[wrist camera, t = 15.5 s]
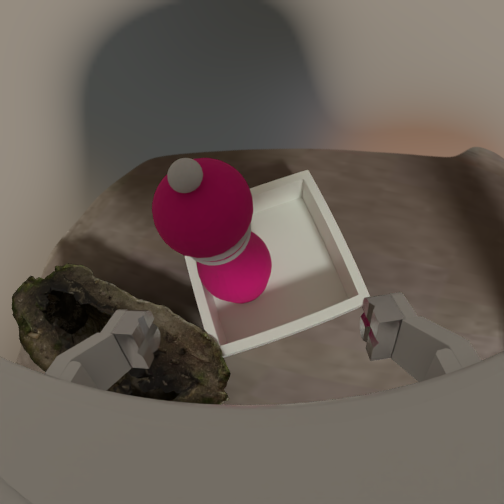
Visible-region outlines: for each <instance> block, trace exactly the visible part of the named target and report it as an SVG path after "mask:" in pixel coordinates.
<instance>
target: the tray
mask: <svg viewBox="0 0 504 504" xmlns="http://www.w3.org/2000/svg"><path fill="white" fill-rule="evenodd" d="M250 191H251V194H252V199H253V215H252V220H251V223H250V224H251V231H252V232H253V233H255V234H256V235H258V236H259V237H260V238H261V239H262V240H263V242H264V243H265V244H266V246H267V248H268V250H269V253H270V256H271V261H272V269H271V274H270V278H269V280H268V283H267V286H266V288H265V290H264V291H263V293H262V294H261V295H260V296H259V297H258V298H256V299H255V300H253V301H251V302H248V303H242V304H240V303H233V302H228V301H224V300H221V299H219V298H216V297H215V296H213V295H212V294H211V293H210V292H209V291H208V290H207V289H206V288H205V286H204V285H203V284H202V282H201V280H200V278H199V275H198V271H197V261H195V260H194V259H193V258H191V257H189V256H185V260H186V264H187V268H188V272H189V276H190V280H191V283H192V287H193V291H194V294H195V298H196V302H197V305H198V309H199V312H200V316H201V319H202V323H203V326H204V329H205V331H206V332H207V334H208V335H209V336H210V337H212V338H213V339H214V340H215V342H216V343H217V344H218V345H219V346H220V348H221V351H222V356H223V357H227V356H230V355H234V354H237V353H240V352H243V351H246V350H250V349H253V348H256V347H259V346H262V345H265V344H268V343H271V342H273V341H276V340H279V339H282V338H285V337H287V336H290V335H293V334H296V333H298V332H301V331H304V330H306V329H309V328H311V327H314V326H316V325H319V324H321V323H324V322H326V321H329V320H331V319H334V318H336V317H338V316H341V315H343V314H346V313H348V312H350V311H352V310H355V309H357V308H359V307H361V306H362V304H363V300H364V298H365V297H370V296H369V293H368V291H367V288H366V286H365V284H364V281H363V279H362V277H361V274H360V272H359V270H358V268H357V265H356V263H355V261H354V259H353V257H352V254H351V252H350V250H349V248H348V246H347V244H346V242H345V240H344V238H343V235H342V233H341V231H340V229H339V227H338V225H337V223H336V221H335V219H334V217H333V215H332V213H331V211H330V209H329V208H328V206H327V204H326V202H325V200H324V198H323V196H322V194H321V192H320V191H319V189H318V187H317V185H316V183H315V181H314V180H313V178H312V176H311V174H310V172H309V171H308V170H306V171H303V172H299V173H296V174H293V175H290V176H286V177H283V178H280V179H277V180H274V181H271V182H268V183H265V184H262V185H259V186H256V187H253V188H250Z"/></svg>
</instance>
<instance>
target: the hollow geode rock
mask: <svg viewBox="0 0 504 504" xmlns="http://www.w3.org/2000/svg"><path fill="white" fill-rule="evenodd" d="M119 309H125V310H149V311H151V312H152V314H153V317H154V321H153V324H155V325H156V326H157V327H158V329H159V332H160V337H161V338H160V345H159V348H158V350H156V351H155V352H153V355H154V359H153V361H152V363H151V366H150V368H149V369H145V368H133V367H131V369H130V370H129V371H128V372H127V373H126V374H124V375H123V376H122V377H121V378H120V379H119V380H118V381H117V382H115V383H114V384H113V385H112V386H111V387H110V388H109V389H108V390H106V391H110V392H115V393H120V394H125V395H131V396H137V397H143V398H150V399H157V400H165V401H174V402H185V403H198V404H216V405H221V404H222V403H223V402H224V401H227V400H229V397H228V395H227V394H226V392H225V391H224V388H225V387H226V385H227V382H228V380H229V377H230V371H229V369H228V367H227V365H226V363H225V360H224V358H223V356H222V351H221V348H220V346H219V345H218V344H217V343H216V342H215V340H214V339H213V338H212V337H210V336H209V335H208V334H207V332H206V331H204V330H202V329H201V328H199V327H198V326H196V325H194V324H192V323H189V322H187V321H185V320H184V319H183V318H181V317H180V316H179V315H177V314H174V313H173V312H172V311H171V310H170V309H169V308H168V307H166V306H164V305H156V304H154V303H151V302H148V301H145V300H140V299H137V298H135V297H134V296H132V295H130V294H129V293H128V292H126V291H123V290H121V289H119V288H118V287H117V286H116V285H114V284H111V283H109V282H107V281H102V280H101V279H99V278H95V277H94V276H93V272H92V270H91V269H89V268H88V267H85V266H83V265H74V264H69V263H68V264H66V265H64V266H55V271H54V272H52V273H51V274H50V275H48V276H47V277H46V278H45V279H42V278H40V277H38V278H36V279H35V278H34V277H33V276H30V277H29V278H28V279H27V280H26V281H25V282H24V283H23V284H22V285H21V286H20V287H19V288H18V289H17V291H16V292H15V293H14V294H13V296H12V310H13V316H14V318H15V320H16V321H17V324H18V326H19V337H20V338H19V339H20V342H21V344H22V346H23V348H24V349H25V351H26V352H27V353H28V354H29V355H30V358H31V359H32V360H33V362H34V363H35V364H37V365H38V366H39V367H40V368H41V369H42V370H44V371H45V372H46V371H47V370H48V368H49V367H50V365H51V364H52V363H53V361H54V360H55V358H56V357H57V356H58V355H60V354H62V353H64V352H65V351H67V350H69V349H70V348H72V347H74V346H75V345H77V344H79V343H81V342H82V341H84V340H86V339H87V338H89V337H91V336H92V335H94V334H96V333H100V332H101V331H102V330H103V328H104V327H105V325H106V324H107V323H108V321H109V320H110V318H111V317H112V316H113V314H114V313H115V312H116V310H119Z"/></svg>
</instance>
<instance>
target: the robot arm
mask: <svg viewBox="0 0 504 504" xmlns="http://www.w3.org/2000/svg"><path fill="white" fill-rule="evenodd" d="M362 308H363V310H364V313H363V314H362V315H361V319H360V331H361V336H362V339H363V340H364V341H365V342H367V345H366V350H367V353H368V356H369V359H370V361H373V360H380V359H386V358H391V359H392V360H393V361H395V362H396V363H397V364H398V365H399V366H401V367H402V368H403V369H404V370H405V371H407V372H408V373H409V374H410V375H411V376H413V377H414V378H415V379H416V380H417V381H418V383H414V384H410V385H406V386H402V387H398V388H394V389H389V390H385V391H380V392H375V393H370V394H365V395H359V396H353V397H347V398H340V399H332V400H324V401H315V402H305V403H292V404H274V405H216V404H198V403H185V402H174V401H165V400H157V399H150V398H143V397H137V396H131V395H125V394H120V393H115V392H110V391H106V390H108V389H109V388H110V387H111V386H112V385H113V384H114V383H115V382H117V381H118V380H119V379H120V378H121V377H122V376H123V375H124V374H126V373H127V372H128V371H129V370H130V369H131V367H133V368H145V369H149V368H150V366H151V363H152V361H153V359H154V355H153V352H155V351H156V350H158V348H159V345H160V338H161V337H160V332H159V329H158V327H157V326H156V325H155V324H153V321H154V317H153V314H152V312H151V311H149V310H125V309H119V310H116V312H115V313H114V314H113V316H112V317H111V318H110V320H109V321H108V323H107V324H106V325H105V327H104V328H103V330H102V331H101V332H100V333H96V334H94V335H92V336H91V337H89V338H87V339H86V340H84V341H82V342H81V343H79V344H77V345H75V346H74V347H72V348H70V349H69V350H67V351H65V352H64V353H62V354H60V355H58V356H57V357H56V358H55V360H54V361H53V363H52V364H51V365H50V367H49V368H48V370H47V371H46V373H45V374H43V373H41V372H38V371H35V370H32V369H29V368H27V367H24V366H21V365H19V364H16V363H14V362H12V361H9V360H7V359H5V358H3V357H0V504H504V351H503V352H501V353H498V354H496V355H494V356H492V357H489V358H487V359H485V360H481V358H480V357H479V355H478V354H477V352H476V351H475V349H474V348H473V346H472V345H471V343H470V342H469V340H467V339H465V338H463V337H461V336H459V335H457V334H456V333H454V332H452V331H450V330H448V329H446V328H444V327H442V326H440V325H438V324H436V323H434V322H432V321H430V320H428V319H426V318H424V317H422V316H420V317H418V316H417V314H416V312H415V311H414V309H413V308H412V306H411V305H410V303H409V302H408V300H407V299H406V298H405V296H404V295H403V293H401V292H396V293H391V294H387V295H380V296H373V297H365V298H364V300H363V304H362Z"/></svg>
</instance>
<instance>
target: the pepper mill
mask: <svg viewBox="0 0 504 504" xmlns="http://www.w3.org/2000/svg"><path fill="white" fill-rule="evenodd" d="M152 213H153V219H154V223H155V226H156V228H157V230H158V233H159V235H160V236H161V237H162V239H163V240H164V241H165V243H166V244H168V245H169V246H170V247H171V248H172V249H174V250H175V251H177V252H179V253H181V254H183V255H184V256H189V257H191V258H193V259H194V260H195V261H197V271H198V275H199V278H200V280H201V282H202V284H203V285H204V286H205V288H206V289H207V290H208V291H209V292H210V293H211V294H212V295H213V296H215V297H216V298H219V299H221V300H224V301H228V302H233V303H240V304H242V303H248V302H251V301H253V300H255V299H256V298H258V297H259V296H260V295H261V294H262V293H263V291H264V290H265V288H266V286H267V283H268V280H269V278H270V274H271V269H272V261H271V256H270V253H269V250H268V248H267V246H266V244H265V243H264V242H263V240H262V239H261V238H260V237H259V236H258V235H256V234H255V233H253V232H252V231H251V224H250V223H251V220H252V215H253V199H252V194H251V191H250V189H249V186H248V184H247V182H246V180H245V179H244V178H243V176H242V175H241V174H240V173H239V172H238V171H237V170H236V169H235V168H234V167H232V166H231V165H229V164H227V163H225V162H223V161H220V160H217V159H212V158H198V159H190V158H181V159H178V160H176V161H175V162H174V163H173V164H172V165H171V166H170V168H169V170H168V173H167V175H166V176H165V177H164V178H163V179H162V181H161V182H160V184H159V185H158V187H157V189H156V191H155V194H154V198H153V202H152Z"/></svg>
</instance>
